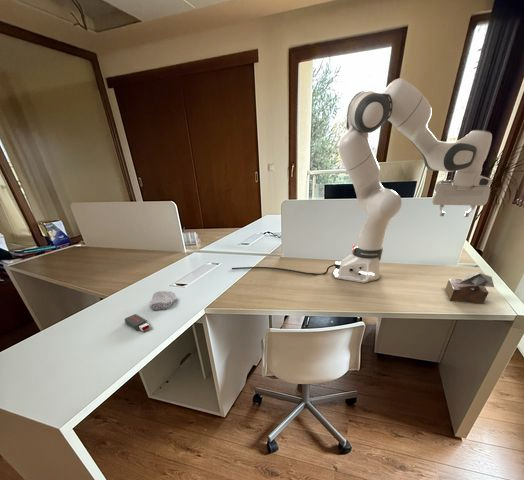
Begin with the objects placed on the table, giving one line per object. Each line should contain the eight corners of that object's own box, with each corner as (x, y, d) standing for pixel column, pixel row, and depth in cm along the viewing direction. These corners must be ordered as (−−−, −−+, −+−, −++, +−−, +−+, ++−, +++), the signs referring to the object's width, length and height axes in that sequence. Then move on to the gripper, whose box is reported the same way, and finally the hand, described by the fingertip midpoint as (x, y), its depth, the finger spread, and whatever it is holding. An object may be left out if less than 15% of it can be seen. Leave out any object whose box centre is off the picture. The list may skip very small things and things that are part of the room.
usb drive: (137, 318, 117) (135, 312, 116) (152, 327, 111) (150, 321, 109) (125, 323, 114) (123, 317, 113) (140, 333, 108) (138, 327, 106)
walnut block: (449, 300, 118) (454, 289, 115) (445, 289, 127) (449, 278, 124) (483, 304, 114) (488, 292, 111) (476, 291, 123) (481, 280, 120)
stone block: (177, 300, 133) (155, 298, 131) (177, 291, 130) (154, 288, 129) (173, 313, 124) (149, 311, 122) (172, 304, 121) (148, 301, 119)
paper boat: (500, 269, 110) (493, 286, 107) (498, 281, 114) (490, 298, 111) (464, 266, 117) (456, 282, 115) (463, 278, 122) (455, 293, 119)
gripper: (438, 180, 117) (427, 217, 125) (496, 180, 111) (482, 218, 119) (436, 179, 121) (426, 214, 130) (492, 178, 115) (478, 215, 124)
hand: (453, 216), depth 124 cm, fingers open, 8 cm apart
